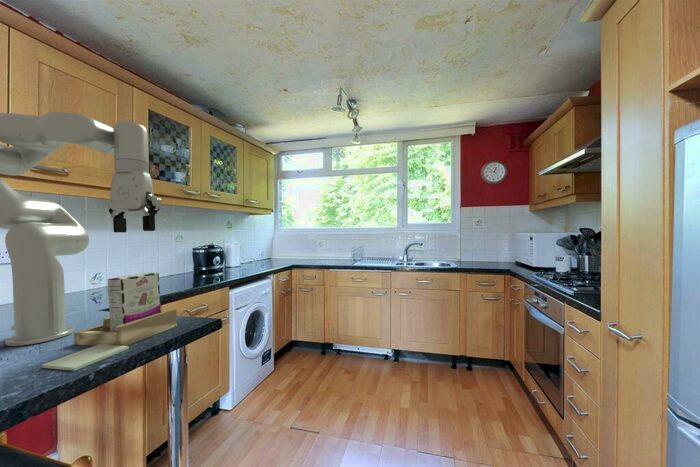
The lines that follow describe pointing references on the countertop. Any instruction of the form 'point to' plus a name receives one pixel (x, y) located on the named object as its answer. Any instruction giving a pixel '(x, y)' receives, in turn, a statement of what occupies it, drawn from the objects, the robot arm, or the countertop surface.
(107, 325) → the offcut upper
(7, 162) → the robot arm
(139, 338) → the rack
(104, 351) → the tile
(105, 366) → the countertop surface
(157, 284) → the candy bar box
